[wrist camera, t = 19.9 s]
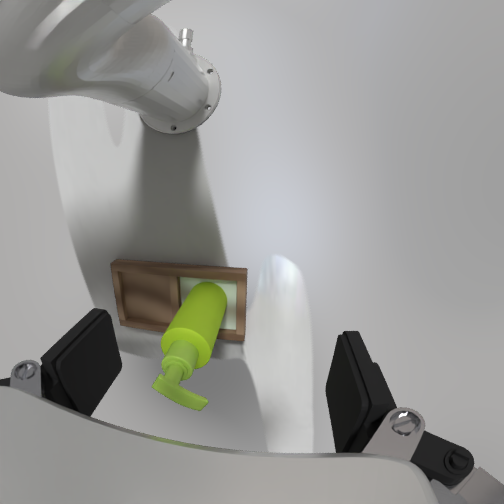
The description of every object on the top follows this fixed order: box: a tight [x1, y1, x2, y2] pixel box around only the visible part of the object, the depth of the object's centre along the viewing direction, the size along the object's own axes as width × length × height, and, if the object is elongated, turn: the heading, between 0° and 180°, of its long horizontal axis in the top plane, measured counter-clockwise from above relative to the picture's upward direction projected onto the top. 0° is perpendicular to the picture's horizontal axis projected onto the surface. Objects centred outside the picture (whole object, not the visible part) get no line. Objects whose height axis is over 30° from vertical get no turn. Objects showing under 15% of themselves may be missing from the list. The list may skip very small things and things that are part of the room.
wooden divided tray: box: [110, 259, 247, 341], centre depth 41 cm, size 11×22×5 cm, turn 88°
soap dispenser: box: [152, 282, 227, 411], centre depth 33 cm, size 6×7×20 cm
